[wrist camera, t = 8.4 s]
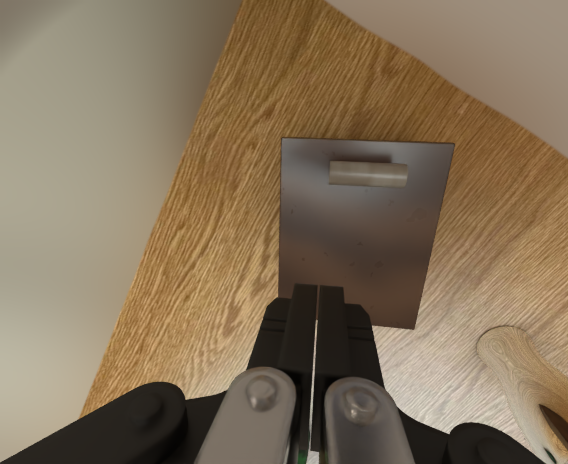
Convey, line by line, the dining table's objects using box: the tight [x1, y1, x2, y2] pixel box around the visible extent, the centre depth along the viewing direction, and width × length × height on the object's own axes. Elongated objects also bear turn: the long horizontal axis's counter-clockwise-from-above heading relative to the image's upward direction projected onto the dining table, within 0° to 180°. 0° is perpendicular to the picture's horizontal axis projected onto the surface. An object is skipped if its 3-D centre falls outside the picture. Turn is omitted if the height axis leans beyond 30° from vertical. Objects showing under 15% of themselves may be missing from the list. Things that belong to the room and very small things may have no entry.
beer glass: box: [477, 326, 568, 464], centre depth 31 cm, size 7×7×15 cm
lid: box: [278, 137, 455, 330], centre depth 24 cm, size 16×13×4 cm
